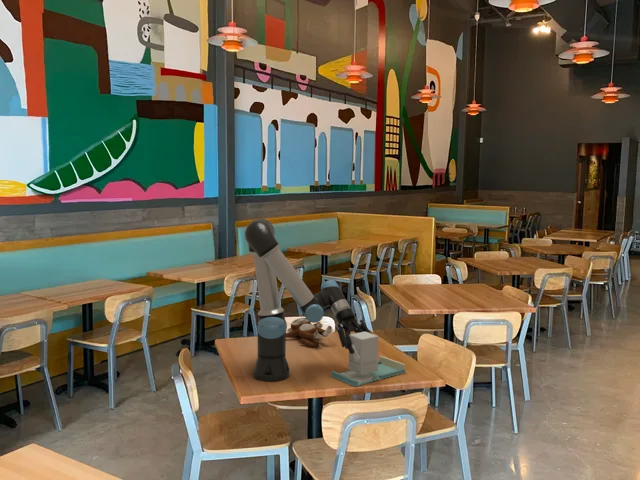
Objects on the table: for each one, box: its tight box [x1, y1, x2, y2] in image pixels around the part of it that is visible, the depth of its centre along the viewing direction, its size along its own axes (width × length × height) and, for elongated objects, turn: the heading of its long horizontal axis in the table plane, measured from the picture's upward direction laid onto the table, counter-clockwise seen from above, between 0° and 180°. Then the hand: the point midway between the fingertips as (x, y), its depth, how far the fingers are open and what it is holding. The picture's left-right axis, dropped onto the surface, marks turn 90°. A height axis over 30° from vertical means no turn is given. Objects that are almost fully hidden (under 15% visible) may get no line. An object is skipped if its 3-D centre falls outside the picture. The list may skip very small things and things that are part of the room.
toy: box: [286, 317, 334, 348], centre depth 290 cm, size 22×10×30 cm
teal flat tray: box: [330, 355, 407, 388], centre depth 240 cm, size 28×15×4 cm, turn 128°
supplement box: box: [348, 332, 379, 375], centre depth 235 cm, size 9×9×15 cm
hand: (367, 357), depth 234 cm, fingers closed on supplement box, 9 cm apart
